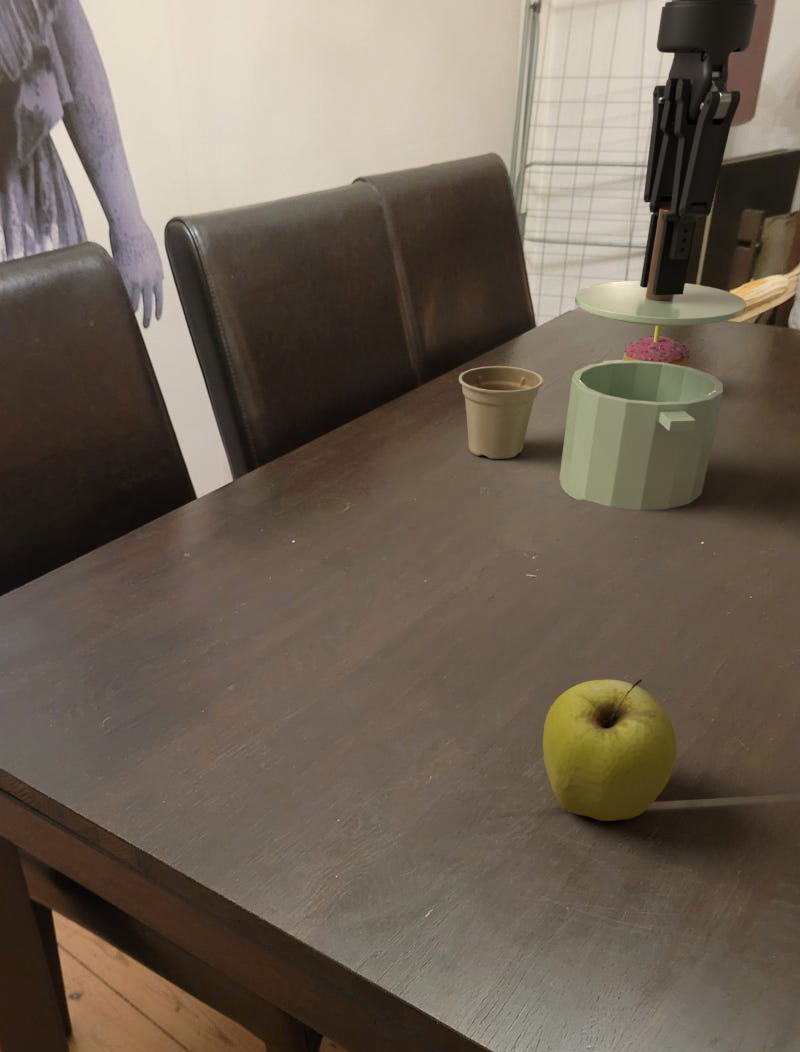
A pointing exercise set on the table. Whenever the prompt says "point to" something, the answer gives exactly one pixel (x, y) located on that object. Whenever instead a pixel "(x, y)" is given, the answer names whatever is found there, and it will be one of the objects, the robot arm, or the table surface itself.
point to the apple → (608, 749)
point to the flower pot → (498, 408)
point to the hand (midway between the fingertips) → (661, 289)
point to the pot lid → (659, 299)
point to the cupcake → (657, 350)
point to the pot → (639, 434)
